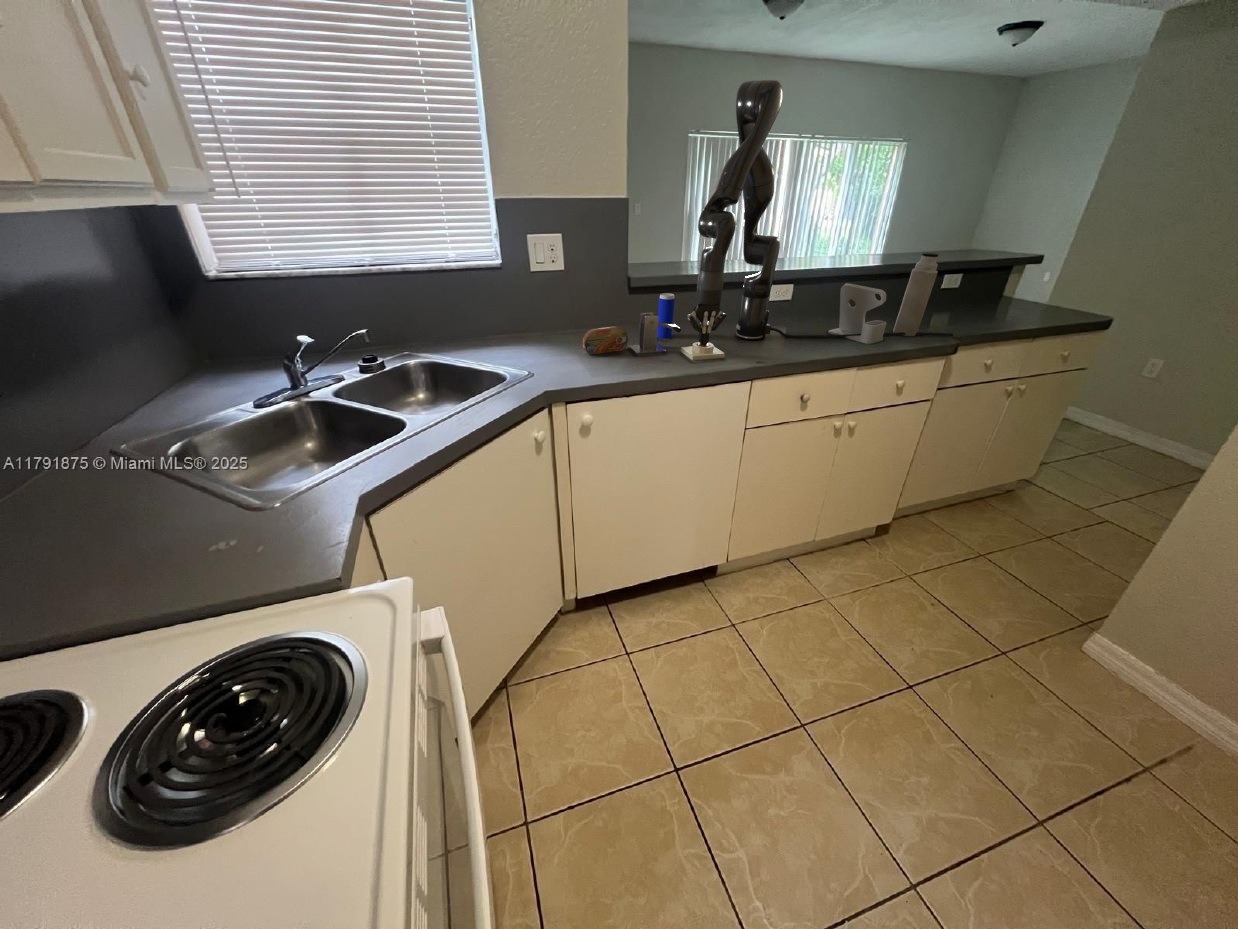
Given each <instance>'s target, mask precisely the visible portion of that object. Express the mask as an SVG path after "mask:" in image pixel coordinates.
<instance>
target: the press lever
mask: <svg viewBox="0 0 1238 929" xmlns="http://www.w3.org/2000/svg"><path fill="white" fill-rule="evenodd" d="M645 316H647V315H645ZM643 323H644V320H643ZM658 325H659V326H663V327H667V328H670V329H673V331H675V332H677V333H681V332H682V328H681V327H679V326H678V325H676V324H675V323H673V324H672V325H669V324H666V323H662V322H659V321H658Z"/></svg>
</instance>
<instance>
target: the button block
mask: <svg viewBox="0 0 1238 929" xmlns="http://www.w3.org/2000/svg"><path fill="white" fill-rule="evenodd" d="M698 343H699V341H696V342H693V343H692V346H684V347H683V346H682V347H680V353H682V354H683V355H684V356H686V357H687V358H688V359H690V360H691V361H700V360H701V361H702V360H711V359H723V358H726V357H725V356H726V353H725V352H724V351H722V350H720V349H719V348H717V347H716V346H714V344H713V343H712V342H708V343H707V344H709V346H708V347H701V346H698Z"/></svg>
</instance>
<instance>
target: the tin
mask: <svg viewBox="0 0 1238 929" xmlns="http://www.w3.org/2000/svg"><path fill="white" fill-rule="evenodd" d="M628 342H629V336H628V333H627V331H626V330H625V329H624V328H623V327H620V326H615V325H613V326H608V327H607V326H606V327H600V328H599V327H598V328H592V329H589V330H588V331H586V333H584V336H583V337H582V347H583V350H584V352H585V353H586V354H588V355H589V356H592V355H599V354H605V353H611V352H619V351H624V350H625V349H626V348H627V346H628Z"/></svg>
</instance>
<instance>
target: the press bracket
mask: <svg viewBox="0 0 1238 929" xmlns="http://www.w3.org/2000/svg"><path fill="white" fill-rule="evenodd" d="M645 315H647V316H645ZM658 317H659V316H658V315H655V314H654V312H641V313H639V325H638V344H631V345H628V348H630V349H631V351H633V352H634V353H635V354H636V355H640V354H641V355H642V354H653V353H655V354H656V353H666V352H667V350H666V349H665V348H664V347H663V346H661V345H660V344H659V343H658V337H657V333H658ZM643 320H644V323H643Z"/></svg>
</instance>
